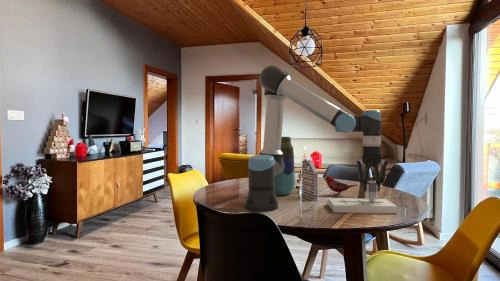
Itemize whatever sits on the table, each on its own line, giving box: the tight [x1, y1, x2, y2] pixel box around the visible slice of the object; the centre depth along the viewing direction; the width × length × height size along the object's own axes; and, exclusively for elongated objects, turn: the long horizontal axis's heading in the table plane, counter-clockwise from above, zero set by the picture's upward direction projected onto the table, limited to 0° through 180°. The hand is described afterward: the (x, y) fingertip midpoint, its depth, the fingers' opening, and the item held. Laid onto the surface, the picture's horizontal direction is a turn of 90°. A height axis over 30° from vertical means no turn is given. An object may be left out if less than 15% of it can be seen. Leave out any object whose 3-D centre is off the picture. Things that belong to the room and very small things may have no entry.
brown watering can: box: [356, 164, 388, 199], centre depth 158 cm, size 9×14×18 cm, turn 76°
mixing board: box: [327, 197, 398, 214], centre depth 141 cm, size 26×14×3 cm, turn 85°
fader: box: [367, 181, 377, 202], centre depth 140 cm, size 3×5×9 cm, turn 175°
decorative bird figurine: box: [323, 175, 358, 196], centre depth 170 cm, size 3×18×10 cm, turn 69°
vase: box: [274, 136, 296, 196], centre depth 174 cm, size 14×14×31 cm
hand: (371, 198), depth 140 cm, fingers closed on fader, 3 cm apart
